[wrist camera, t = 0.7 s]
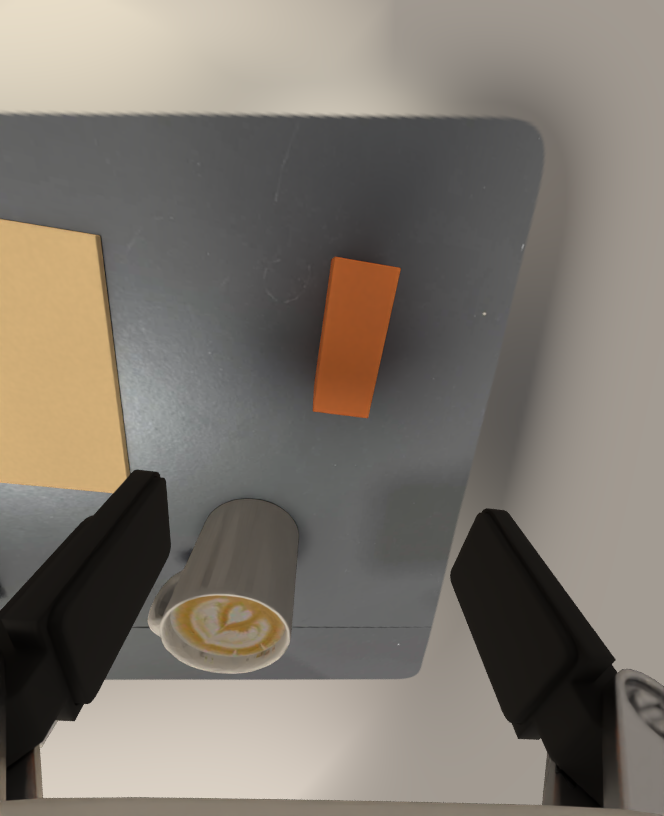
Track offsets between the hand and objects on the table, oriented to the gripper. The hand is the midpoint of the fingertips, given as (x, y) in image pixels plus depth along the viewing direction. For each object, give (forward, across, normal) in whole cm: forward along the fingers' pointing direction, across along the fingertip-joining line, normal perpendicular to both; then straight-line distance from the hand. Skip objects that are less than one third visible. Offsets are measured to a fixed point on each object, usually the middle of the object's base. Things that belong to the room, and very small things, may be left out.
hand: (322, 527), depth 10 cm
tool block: (+18, -2, -2) cm, 18 cm away
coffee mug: (+18, +6, +21) cm, 28 cm away
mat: (+18, +24, +5) cm, 31 cm away
